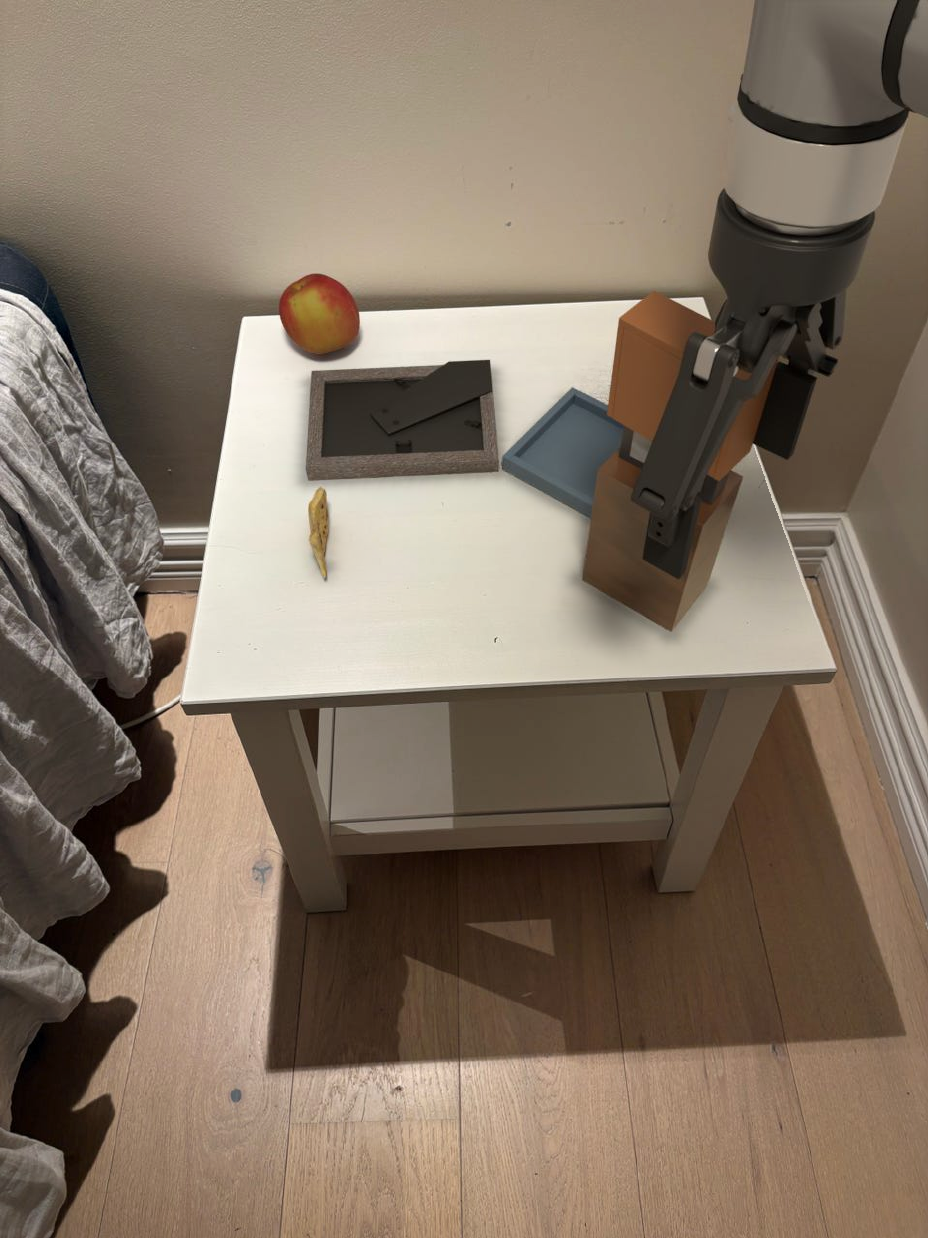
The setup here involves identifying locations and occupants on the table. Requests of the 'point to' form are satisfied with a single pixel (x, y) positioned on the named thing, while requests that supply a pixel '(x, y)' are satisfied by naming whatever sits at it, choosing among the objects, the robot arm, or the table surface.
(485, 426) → the picture frame
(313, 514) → the pastry
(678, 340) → the orange brown block
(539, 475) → the tray
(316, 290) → the apple
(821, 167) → the robot arm
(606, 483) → the wooden block with slab
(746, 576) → the table surface
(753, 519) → the table surface
